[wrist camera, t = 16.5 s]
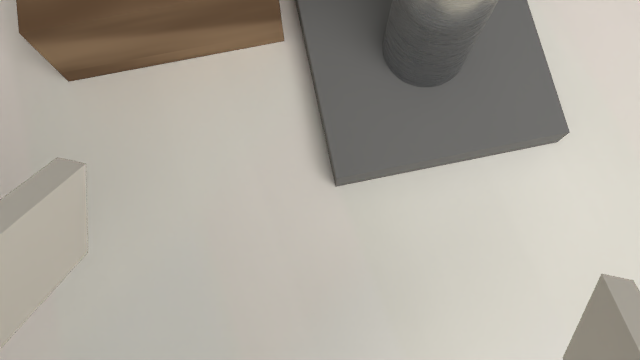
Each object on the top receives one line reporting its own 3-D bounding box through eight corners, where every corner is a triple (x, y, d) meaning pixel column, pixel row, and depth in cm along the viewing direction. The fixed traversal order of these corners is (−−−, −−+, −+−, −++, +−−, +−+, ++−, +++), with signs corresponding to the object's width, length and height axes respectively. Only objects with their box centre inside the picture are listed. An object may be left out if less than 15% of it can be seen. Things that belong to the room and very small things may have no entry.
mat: (292, -14, 31) (290, -31, 30) (495, -52, 31) (503, -70, 30) (335, 186, 28) (336, 178, 27) (556, 142, 29) (569, 132, 27)
